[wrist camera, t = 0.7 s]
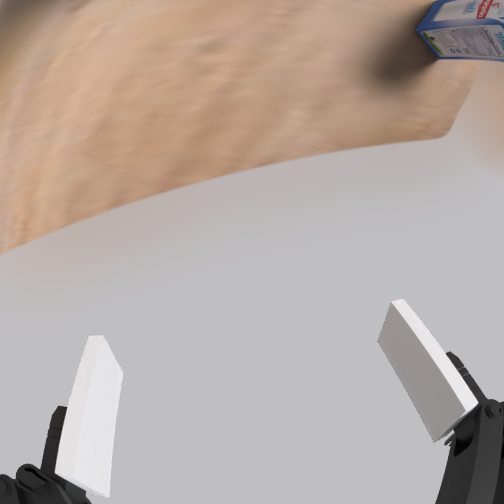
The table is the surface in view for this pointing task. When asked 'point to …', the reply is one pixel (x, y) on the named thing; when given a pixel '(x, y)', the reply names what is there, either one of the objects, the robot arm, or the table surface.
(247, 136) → the table surface
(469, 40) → the milk carton
